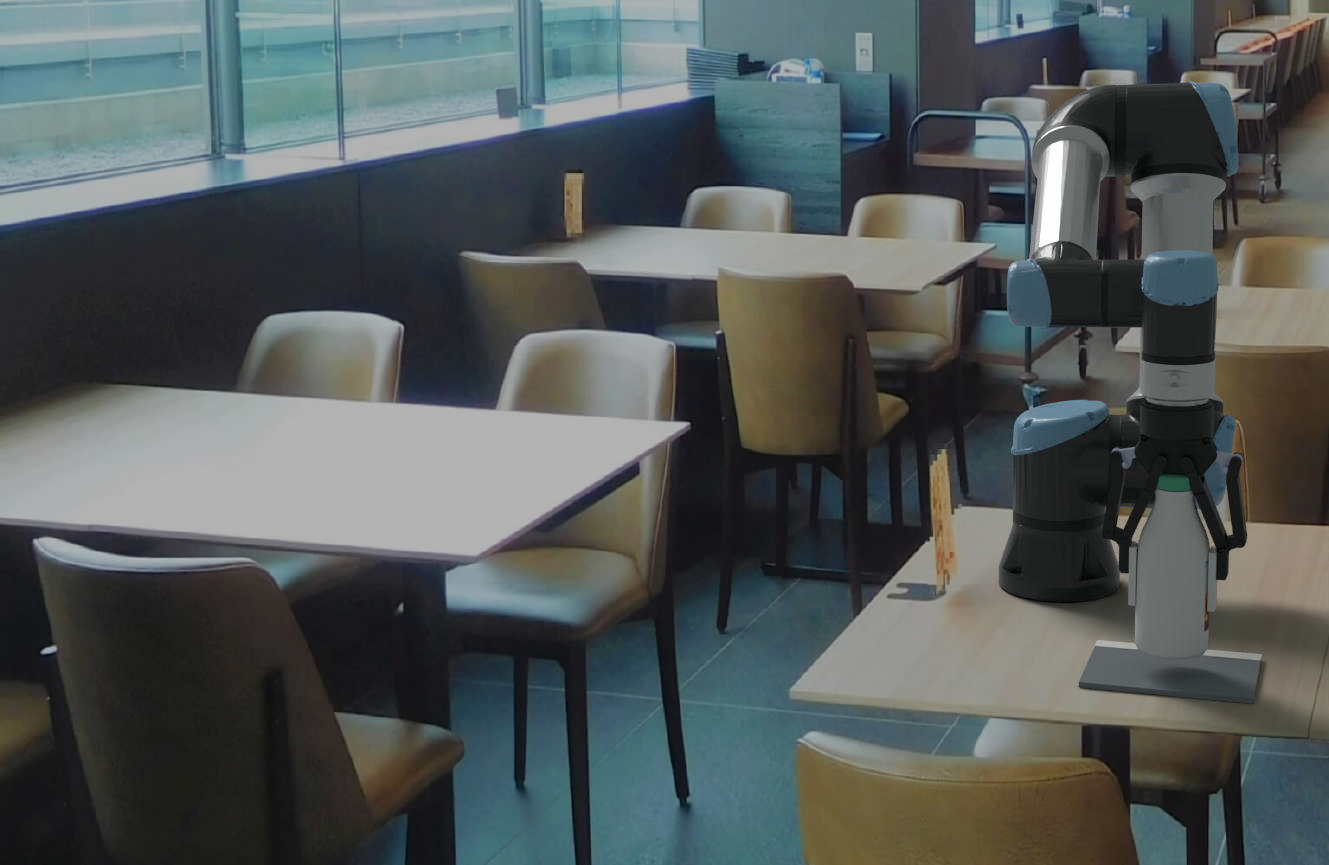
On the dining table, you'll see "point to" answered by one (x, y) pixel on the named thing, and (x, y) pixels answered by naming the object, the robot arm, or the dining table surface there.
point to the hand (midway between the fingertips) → (1172, 604)
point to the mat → (1173, 673)
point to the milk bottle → (1172, 575)
